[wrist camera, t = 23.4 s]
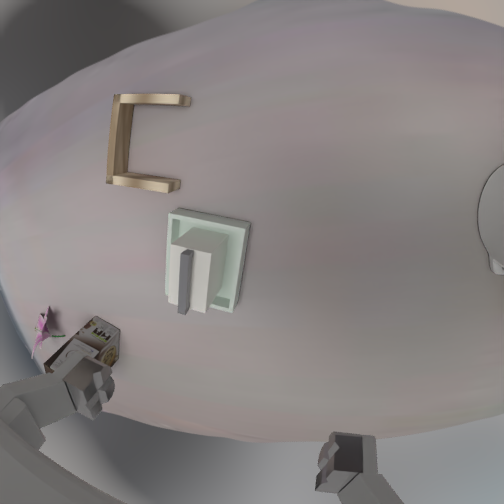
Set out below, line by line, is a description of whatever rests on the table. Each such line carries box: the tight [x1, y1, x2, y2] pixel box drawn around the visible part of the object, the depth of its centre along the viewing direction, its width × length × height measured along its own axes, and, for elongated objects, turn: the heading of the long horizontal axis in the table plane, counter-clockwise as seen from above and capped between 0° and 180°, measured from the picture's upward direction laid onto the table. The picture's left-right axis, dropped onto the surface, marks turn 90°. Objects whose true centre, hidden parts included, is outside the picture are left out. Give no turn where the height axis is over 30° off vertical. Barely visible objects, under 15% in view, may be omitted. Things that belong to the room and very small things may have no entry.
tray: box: [165, 208, 251, 313], centre depth 41 cm, size 10×12×3 cm
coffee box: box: [44, 316, 120, 374], centre depth 46 cm, size 9×6×16 cm
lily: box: [32, 307, 65, 357], centre depth 54 cm, size 12×12×10 cm
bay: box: [106, 94, 191, 193], centre depth 36 cm, size 10×12×4 cm
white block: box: [168, 227, 229, 315], centre depth 38 cm, size 5×8×9 cm, turn 171°
